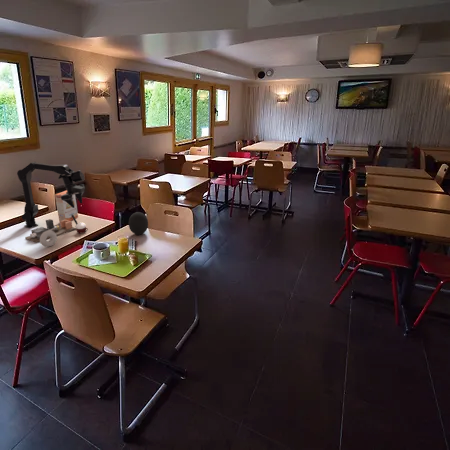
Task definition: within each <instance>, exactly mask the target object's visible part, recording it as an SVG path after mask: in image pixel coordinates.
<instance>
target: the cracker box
mask: <svg viewBox="0 0 450 450" xmlns="http://www.w3.org/2000/svg"><path fill="white" fill-rule="evenodd" d="M66 192H67V190H64V191H62V192H58V193H55V194H54V195H55V196H54V197H55V203H56V210H57V215H58V221H59V223H60V221H62V220H68V221H71V222H72V221H74V219H73V217H72V214H73V215H74V217H75V219H77V218H79V213H78V206H77V200H76V199H77V197H76V196H75V194H74V195H72V198H73V204H74V208H72V207H71V206H70V205H69V204H68V203H67V202H65V201H63V200H61V196H62V195H64V194H66Z"/></svg>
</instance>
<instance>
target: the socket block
mask: <svg viewBox="0 0 450 450" xmlns="http://www.w3.org/2000/svg"><path fill="white" fill-rule="evenodd" d="M59 223H60V226H61V228H63V227H66V229H70V228H72V227H73V223H72V220H71V221H68V220H62V221H60V222H59Z"/></svg>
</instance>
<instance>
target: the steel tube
mask: <svg viewBox="0 0 450 450" xmlns="http://www.w3.org/2000/svg"><path fill="white" fill-rule="evenodd" d="M45 224H46V228H47V229H48V230H50V231H53V232H54V231H57V230H59V225H55V224H54V219H51V218H49V219H46V220H45ZM29 236H31V238H35V237H37V235H36V233H32V232H31V233H30V234H29Z"/></svg>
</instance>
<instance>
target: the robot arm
mask: <svg viewBox="0 0 450 450" xmlns="http://www.w3.org/2000/svg"><path fill="white" fill-rule="evenodd" d="M36 170H42V171H47V172H48V171H49V172H53V173H55V174H58V175H59V176H58V180H60V179H62V181H63V184H64V186H63V188H64V189H66V190H67V192H66V194H64V195H62V196H61V200H63V201H65V202H67V203H68V204H69V205H70V206H71V207H72V208H74V204H73V198H72V195H74V194H75V198H76V199H77V200H78V201H79V203H80V204H83V194H84V193H85V189H86V186H85V184H83V183H82V184H81V183H80V184H79V185H77V184H76V183H78V182H83V181H85V175H84V173H83V172H82V170H81V169H80V170H76V171H74V170H73V169H72V168H71V167H69V165H68V164H64V163H62V164H51V163H43V162H36V161H32V162H30V163H29V164H28V165H26V166H25V167H23V168H21V169H19V170H17V172H16V175H17V177H18V180H19V182H20V183H21V186H22V191H23V196H24V201H25V205H24V209H23V210H24V211H23V212H24V213H23V214H22V215H21V219H22V220H24V222H25V225H24V227H25V228H28V229H31V228H34V227H38V226H39V224H37V223H36V219H35V217H36V216H37V214H38V213H39V210H40V209H39V205H38V204H36V203H35V202H34V196H33V191H32V190H33V189H32V185H31V183H32V182H31V180H32V177H33V176H32V173H33V172H34V171H36ZM66 190H65V191H66Z"/></svg>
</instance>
